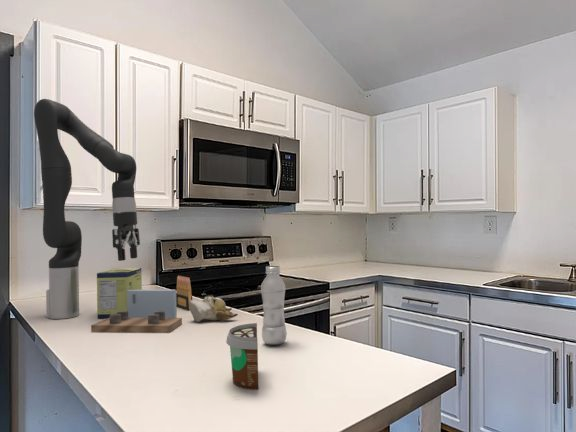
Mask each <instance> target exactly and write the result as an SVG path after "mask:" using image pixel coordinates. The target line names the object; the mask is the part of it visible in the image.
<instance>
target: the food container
mask: <svg viewBox="0 0 576 432" xmlns="http://www.w3.org/2000/svg"><path fill="white" fill-rule="evenodd" d="M258 342H259V341H258V323H257V322H252V323H244V324H238V325H236V326H234V327H231V328H230V329H229V330H228V333H227V336H226V344H227V346H229V349H230V350H229V352H230V362H231V373H232V383H233V385H235V386H236V387H238V388H241V389H244V390H259V357H258V356H259V354H258V353H259V350H258V347H259V346H258V345H259V343H258Z"/></svg>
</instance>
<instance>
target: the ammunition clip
mask: <svg viewBox="0 0 576 432" xmlns="http://www.w3.org/2000/svg"><path fill="white" fill-rule="evenodd" d="M190 279H191V278H190V277H187V276H183V275H177V277H176V308H178V309H182V310H185V311H188V312H190V311H189V310H190V303H189V300H193V295H192V287H191V286H192V285H191V280H190Z"/></svg>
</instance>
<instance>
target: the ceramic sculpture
mask: <svg viewBox="0 0 576 432" xmlns="http://www.w3.org/2000/svg"><path fill="white" fill-rule="evenodd" d="M189 303H190V311H189V312H190V313H191V315H192V318H193V321H195V322H197V323H200V322H201V321H202V320H208V321H212V322H213V320H214V321H218V320H219V321H220V320H225V321H226V320H230V319H232V318H235V317H237V316H238V315H239V314H238V313H233V311H232V308H231V307H229V308H227V306H226V302H225V301H224V300H223V299H222V298H221V297H214V295H213V294H209V295H207V296H204V298H203V300H201V301H200V300H199V301H197V300H193V299H192V300H189Z"/></svg>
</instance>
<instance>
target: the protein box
mask: <svg viewBox="0 0 576 432" xmlns="http://www.w3.org/2000/svg"><path fill="white" fill-rule="evenodd" d="M142 277H143V276H142V267H123V268H120V267H119V268H118V267H117V268H112V269H108V270H103V271H100V272H97V273H96V294H97V295H96V297H97V298H96V302H97V303H96V305H97V306H96V307H97V308H96V309H97V311H96V312H97V319H101V320H105V319H107V318H110V315H111V314H117V312H118V311H127V291H128V290H143V287H142V285H143V283H142Z"/></svg>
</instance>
